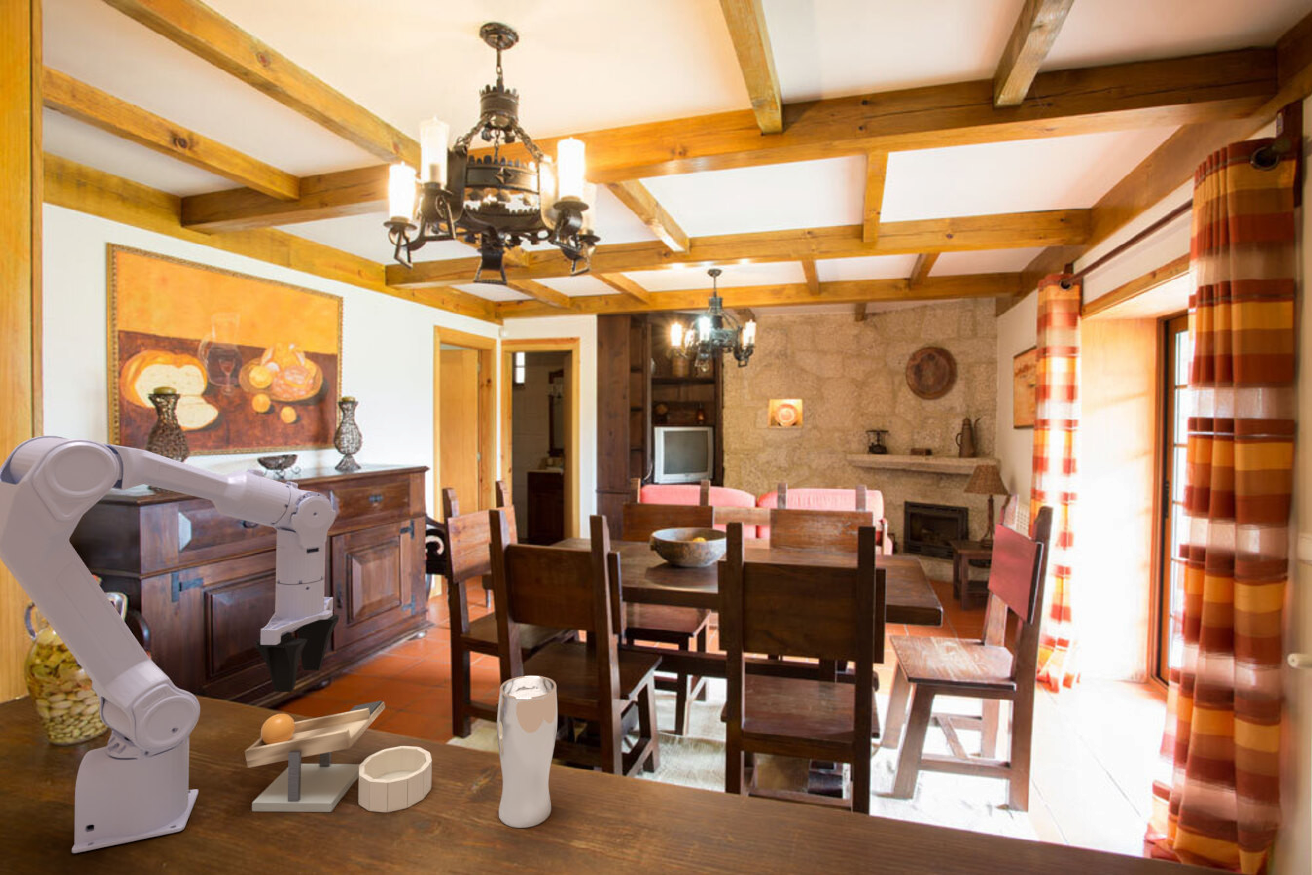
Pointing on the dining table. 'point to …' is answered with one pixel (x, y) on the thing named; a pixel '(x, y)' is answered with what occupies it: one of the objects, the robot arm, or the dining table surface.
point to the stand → (307, 786)
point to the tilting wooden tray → (318, 735)
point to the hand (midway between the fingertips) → (298, 679)
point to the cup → (394, 778)
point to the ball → (277, 729)
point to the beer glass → (526, 748)
